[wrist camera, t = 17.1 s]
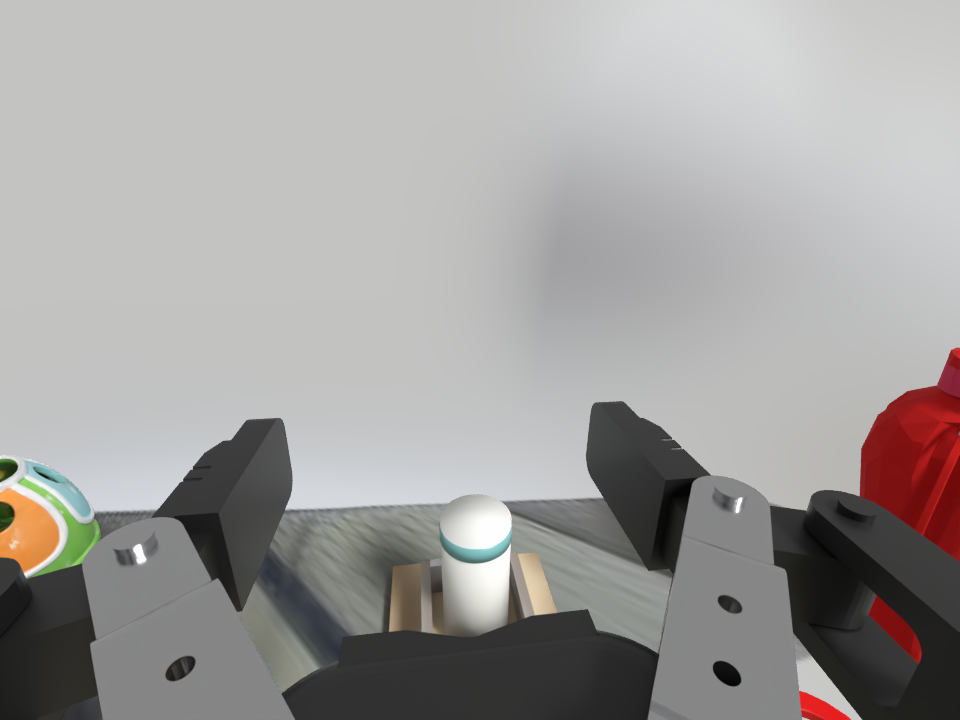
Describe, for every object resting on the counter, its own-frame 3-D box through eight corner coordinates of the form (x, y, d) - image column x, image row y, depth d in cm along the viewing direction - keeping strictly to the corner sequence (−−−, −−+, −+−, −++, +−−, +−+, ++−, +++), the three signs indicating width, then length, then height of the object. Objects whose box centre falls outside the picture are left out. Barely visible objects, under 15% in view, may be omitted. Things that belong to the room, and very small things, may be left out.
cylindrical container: (444, 660, 34) (439, 548, 29) (442, 599, 38) (438, 496, 34) (513, 653, 34) (518, 542, 30) (503, 594, 39) (506, 492, 35)
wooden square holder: (383, 742, 29) (379, 701, 28) (393, 573, 42) (391, 540, 41) (586, 713, 31) (591, 673, 30) (536, 560, 44) (538, 527, 43)
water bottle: (781, 639, 36) (879, 353, 28) (826, 575, 43) (919, 325, 34) (934, 743, 30) (1130, 407, 21) (962, 648, 36) (1121, 360, 27)
